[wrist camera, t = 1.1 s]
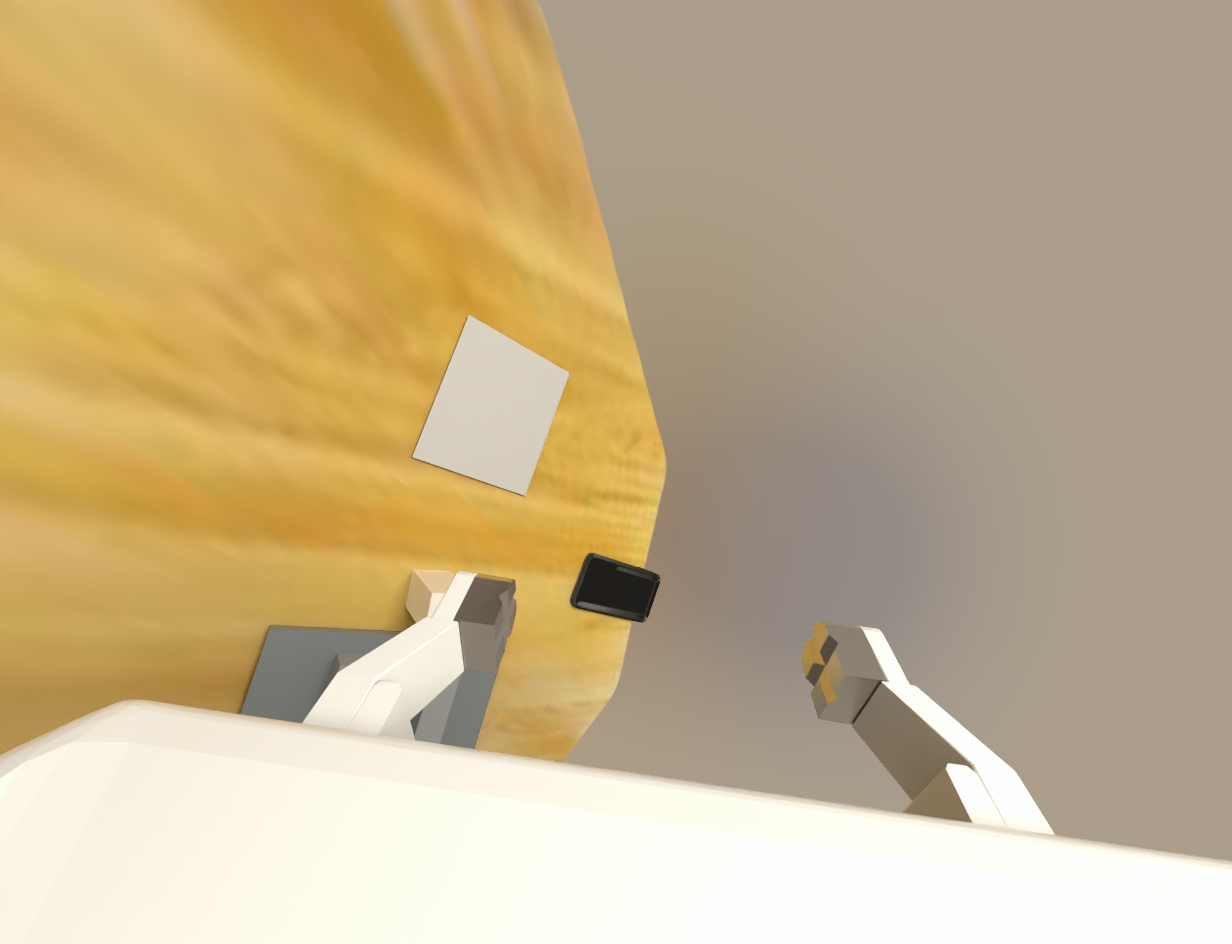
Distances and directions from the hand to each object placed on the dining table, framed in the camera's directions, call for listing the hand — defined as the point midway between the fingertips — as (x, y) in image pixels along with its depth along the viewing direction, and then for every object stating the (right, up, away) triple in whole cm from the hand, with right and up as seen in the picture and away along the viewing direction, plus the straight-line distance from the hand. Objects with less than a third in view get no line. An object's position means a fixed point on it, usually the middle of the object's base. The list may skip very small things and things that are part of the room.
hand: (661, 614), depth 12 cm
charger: (-22, -9, +37) cm, 44 cm away
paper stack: (-13, +6, +43) cm, 45 cm away
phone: (-1, -13, +54) cm, 56 cm away
